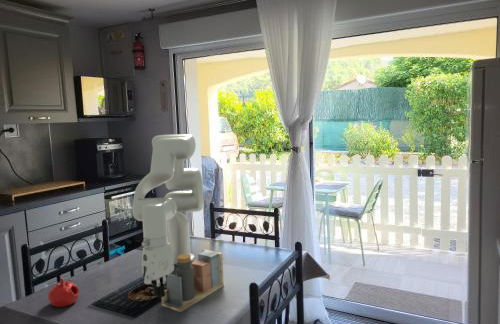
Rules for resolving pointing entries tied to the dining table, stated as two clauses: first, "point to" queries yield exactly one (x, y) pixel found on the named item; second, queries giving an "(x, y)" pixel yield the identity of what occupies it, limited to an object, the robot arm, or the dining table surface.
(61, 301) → the pomegranate
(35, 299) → the dining table surface
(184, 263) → the bottle
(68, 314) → the dining table surface
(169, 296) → the bookend
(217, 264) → the rack
